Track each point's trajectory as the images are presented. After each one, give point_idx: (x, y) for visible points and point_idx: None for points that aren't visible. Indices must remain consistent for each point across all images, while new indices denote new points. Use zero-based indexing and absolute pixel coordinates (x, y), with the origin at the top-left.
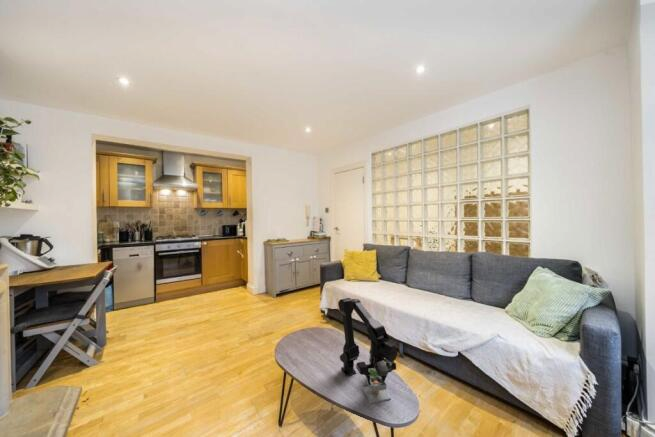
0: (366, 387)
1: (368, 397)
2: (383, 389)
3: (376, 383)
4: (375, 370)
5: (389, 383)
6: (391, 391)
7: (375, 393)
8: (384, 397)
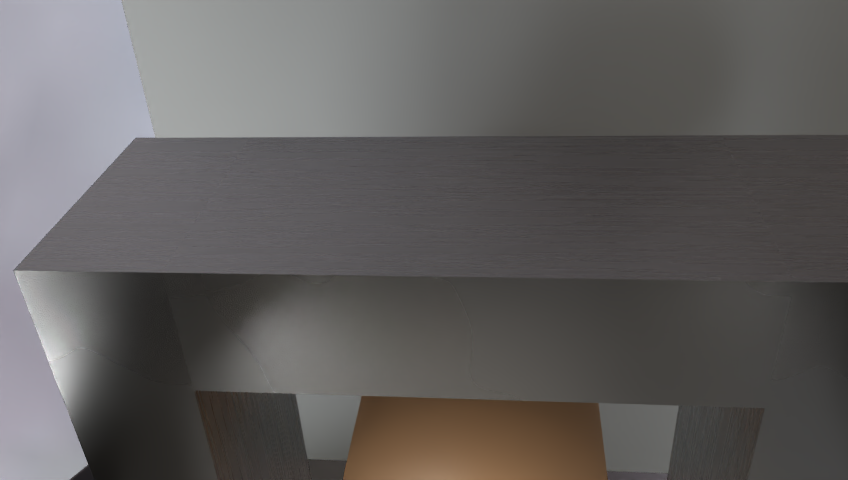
0: (651, 455)
1: (839, 119)
2: (257, 145)
3: (487, 455)
4: None
5: (7, 442)
6: (9, 218)
7: None
8: (294, 6)
